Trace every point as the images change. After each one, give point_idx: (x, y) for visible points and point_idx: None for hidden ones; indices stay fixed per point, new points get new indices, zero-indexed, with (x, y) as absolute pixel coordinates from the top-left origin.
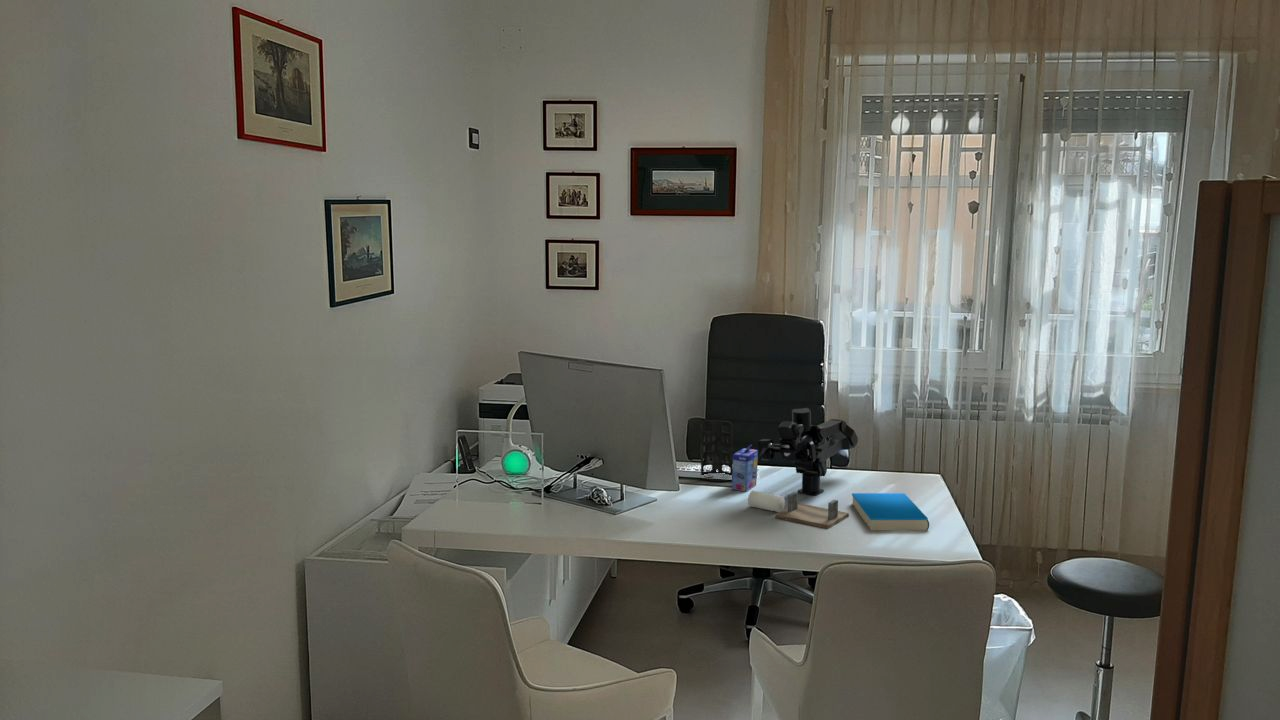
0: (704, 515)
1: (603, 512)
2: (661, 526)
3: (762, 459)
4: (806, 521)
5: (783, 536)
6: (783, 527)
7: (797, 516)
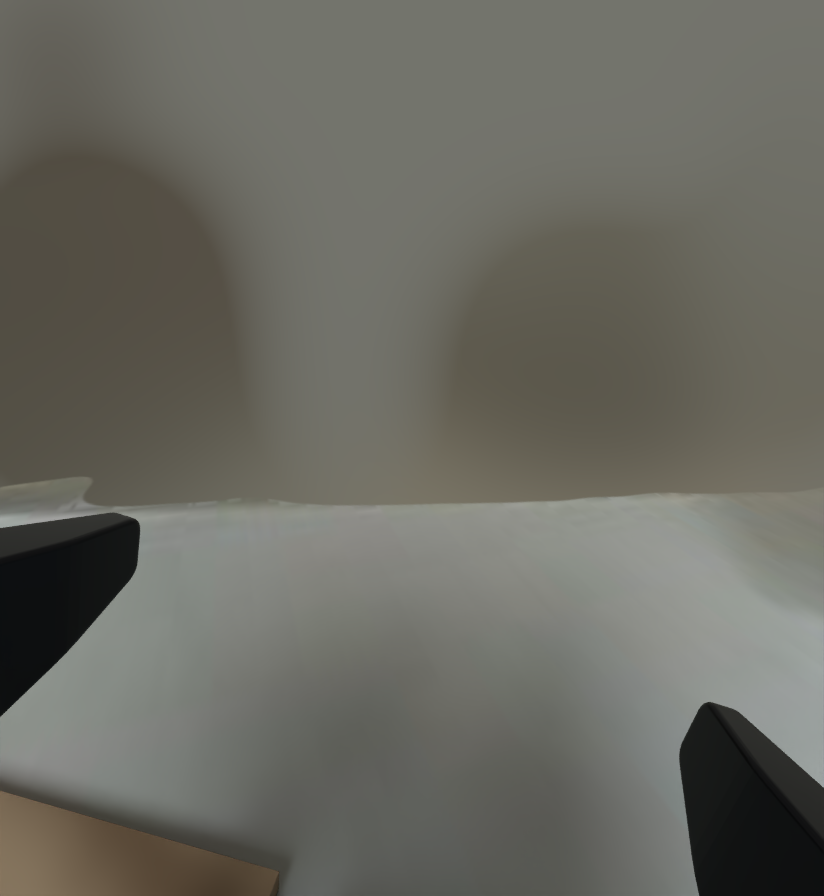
0: None
1: None
2: (713, 583)
3: (688, 827)
4: (24, 799)
5: (216, 601)
6: (213, 705)
7: (77, 887)
